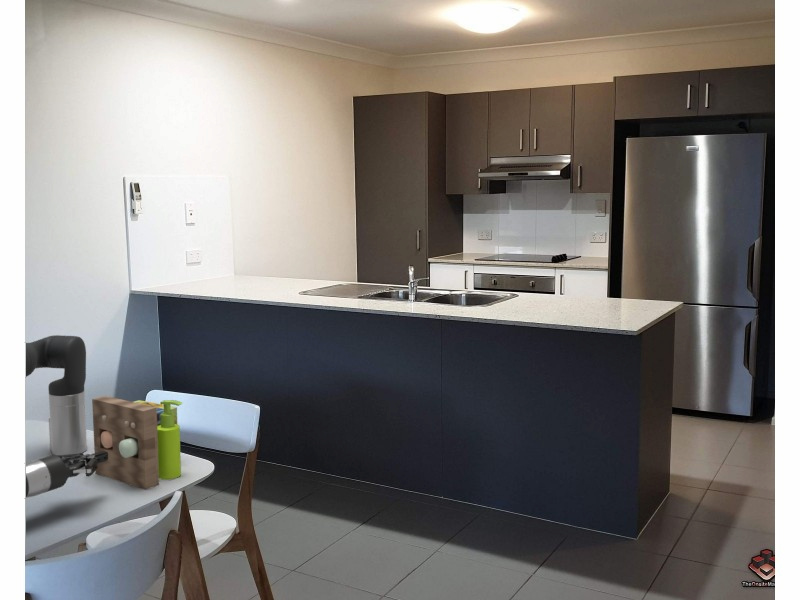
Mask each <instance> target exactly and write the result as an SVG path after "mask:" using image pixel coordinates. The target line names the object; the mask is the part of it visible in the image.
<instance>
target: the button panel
mask: <svg viewBox="0 0 800 600" xmlns="http://www.w3.org/2000/svg"><path fill="white" fill-rule="evenodd" d="M91 400H92V424H93V428H92V429H93V445H94V446H93V449H94V453H97V452H100V451H106V452H108V460H107V461H104V462H101V463H98V468H97V469H96V471H95V472H94V473H95V475H99V476H102V477H105V478H108V479H112V480H114V481H118V482H121V483H124V484H127V485H130V486H133V487H137V488H140V489H143V490H149V489H151V488H154V487H156V486H159V485H160V479H159V468H158V438H157V407H152V406H148V405H143V404H139V403H135V402H134V401H130V400H126V399H120V398H116V397H111V396H108V395H103V396H98V397H94V398H92V399H91ZM104 431H111V432H112V442H113V447H111V448H105V447H104V446H103V444H102V442H101V434H102V433H103V432H104ZM132 437H133V438H136V439H138V454H137V455H134V456H131V457H128V458H124V457H123V456H122V455H121V453H120V451H119V444H120V442H121V441H122V440H126V439H129V438H132Z"/></svg>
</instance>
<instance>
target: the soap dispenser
mask: <svg viewBox="0 0 800 600" xmlns="http://www.w3.org/2000/svg"><path fill="white" fill-rule="evenodd" d="M159 404H162V405H164V412H163V413H161V425H159V426H157V438H158V468H159V480H164V481H165V480H174V478H175V479H177V477H178V478H180V477H181V476H182V467H181V466H182V464H181V463H182V462H181V433H180V432H181V431H180V429H181V428H180V425H179V424H178V423H177V424H175V423H174V413H173V412H171V406H172V405H173V406H176V407H179V406H181V405H183V401H179V400H173V399H165V400H162V401H160V402H159ZM180 475H181V476H180ZM179 476H180V477H179Z"/></svg>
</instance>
